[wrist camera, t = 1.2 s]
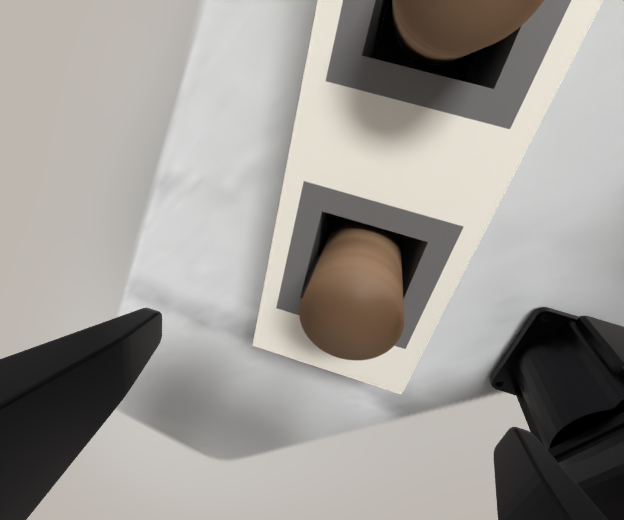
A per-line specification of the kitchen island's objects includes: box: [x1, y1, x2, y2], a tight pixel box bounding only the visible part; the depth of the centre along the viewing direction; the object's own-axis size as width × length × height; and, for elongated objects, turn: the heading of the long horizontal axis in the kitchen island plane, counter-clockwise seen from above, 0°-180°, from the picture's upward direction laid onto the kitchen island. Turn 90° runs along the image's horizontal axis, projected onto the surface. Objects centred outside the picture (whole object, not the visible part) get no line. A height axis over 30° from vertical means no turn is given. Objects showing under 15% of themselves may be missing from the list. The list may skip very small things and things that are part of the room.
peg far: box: [299, 219, 404, 361], centre depth 15 cm, size 4×4×6 cm
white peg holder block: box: [253, 0, 603, 395], centre depth 15 cm, size 22×8×6 cm, turn 167°
